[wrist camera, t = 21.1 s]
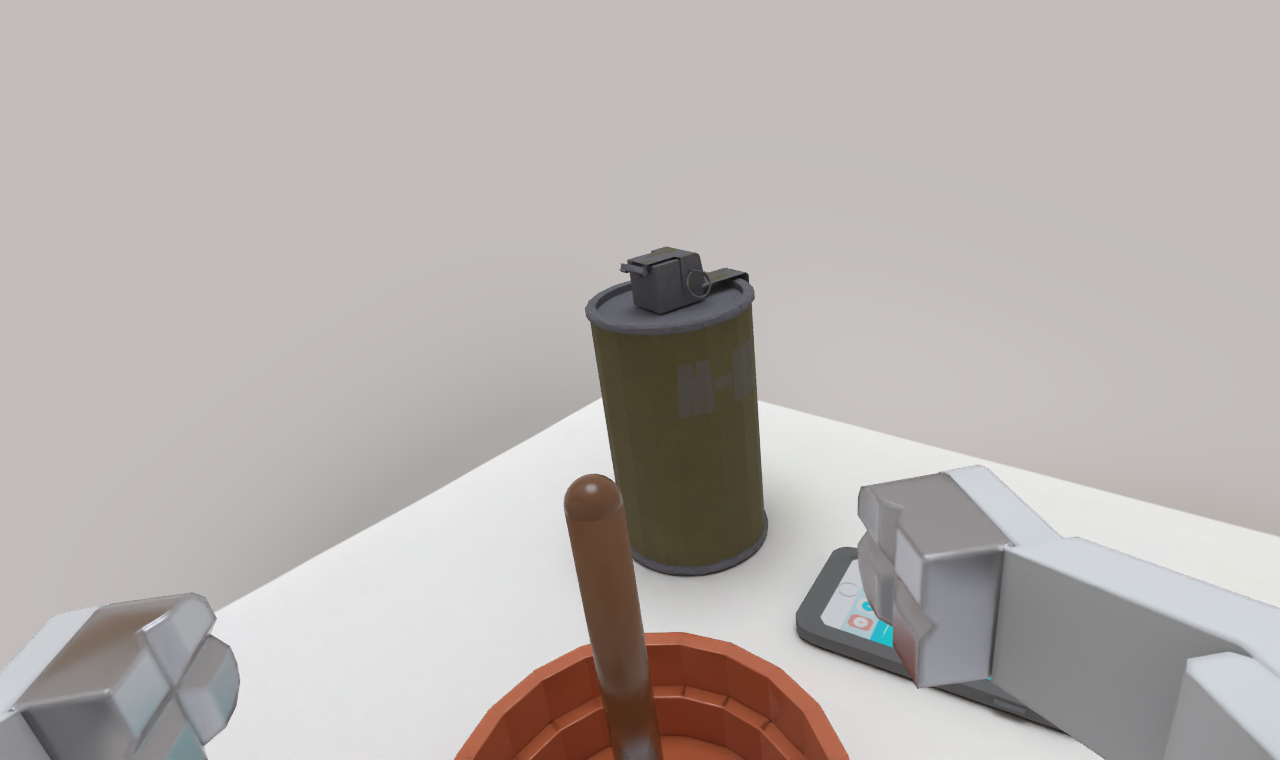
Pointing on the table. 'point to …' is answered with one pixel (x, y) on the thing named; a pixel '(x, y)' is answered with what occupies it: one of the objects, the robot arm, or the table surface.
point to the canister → (682, 411)
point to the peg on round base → (613, 615)
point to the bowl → (662, 709)
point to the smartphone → (874, 631)
